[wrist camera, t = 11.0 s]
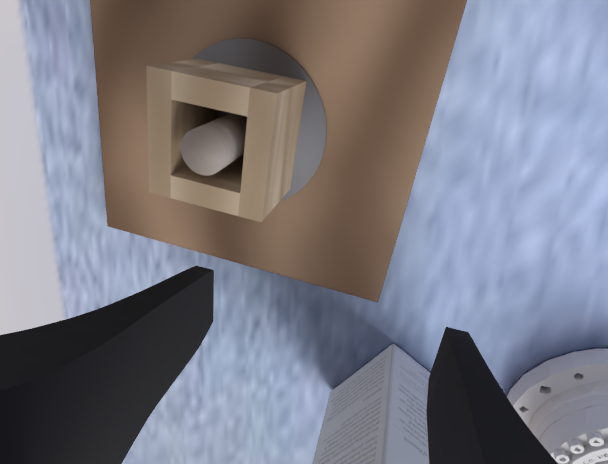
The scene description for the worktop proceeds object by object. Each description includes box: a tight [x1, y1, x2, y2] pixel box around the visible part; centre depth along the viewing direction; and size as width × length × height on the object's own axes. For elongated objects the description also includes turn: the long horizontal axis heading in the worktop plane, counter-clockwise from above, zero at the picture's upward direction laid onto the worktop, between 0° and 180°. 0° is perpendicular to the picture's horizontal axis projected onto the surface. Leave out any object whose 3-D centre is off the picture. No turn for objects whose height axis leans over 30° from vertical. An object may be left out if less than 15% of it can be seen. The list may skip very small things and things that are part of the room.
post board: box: [90, 0, 467, 302], centre depth 18 cm, size 16×15×6 cm
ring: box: [146, 59, 306, 222], centre depth 18 cm, size 5×5×4 cm
